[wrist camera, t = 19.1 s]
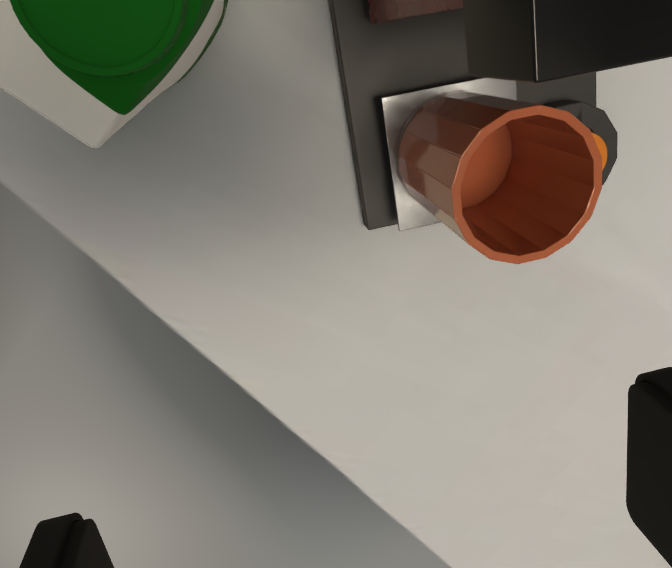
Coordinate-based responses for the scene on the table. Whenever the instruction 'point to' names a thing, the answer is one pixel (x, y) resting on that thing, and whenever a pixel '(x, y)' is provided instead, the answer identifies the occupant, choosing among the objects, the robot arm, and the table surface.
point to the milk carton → (100, 56)
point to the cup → (502, 173)
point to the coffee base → (422, 73)
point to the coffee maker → (523, 55)
